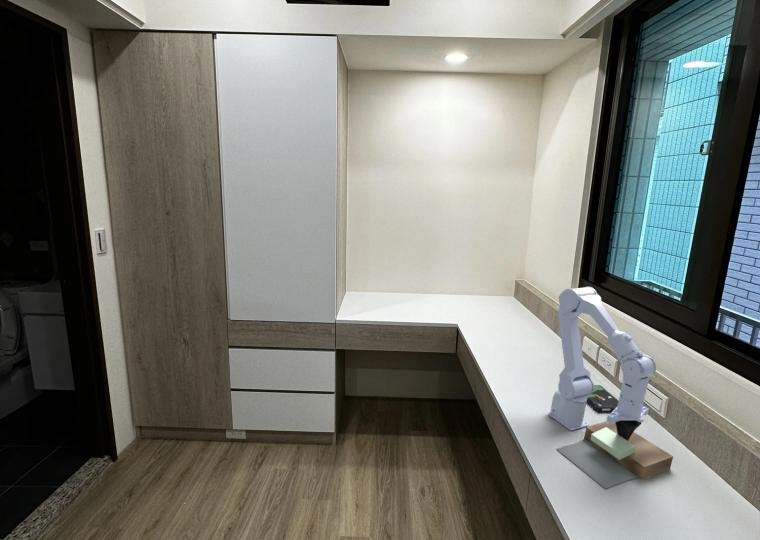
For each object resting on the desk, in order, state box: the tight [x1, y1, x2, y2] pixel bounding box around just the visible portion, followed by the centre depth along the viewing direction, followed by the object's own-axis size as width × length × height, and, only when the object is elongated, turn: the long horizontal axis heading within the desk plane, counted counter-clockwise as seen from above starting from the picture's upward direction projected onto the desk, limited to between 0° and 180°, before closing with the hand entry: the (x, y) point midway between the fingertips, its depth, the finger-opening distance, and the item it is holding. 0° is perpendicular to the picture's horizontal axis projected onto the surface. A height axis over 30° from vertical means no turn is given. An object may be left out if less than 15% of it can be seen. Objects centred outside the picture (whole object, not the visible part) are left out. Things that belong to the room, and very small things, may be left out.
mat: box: [556, 439, 638, 490], centre depth 112 cm, size 16×12×1 cm
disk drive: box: [586, 384, 619, 414], centre depth 145 cm, size 10×3×15 cm
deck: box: [583, 420, 674, 480], centre depth 117 cm, size 18×12×4 cm, turn 23°
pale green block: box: [591, 427, 636, 460], centre depth 114 cm, size 9×6×2 cm, turn 23°
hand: (622, 440), depth 115 cm, fingers closed
